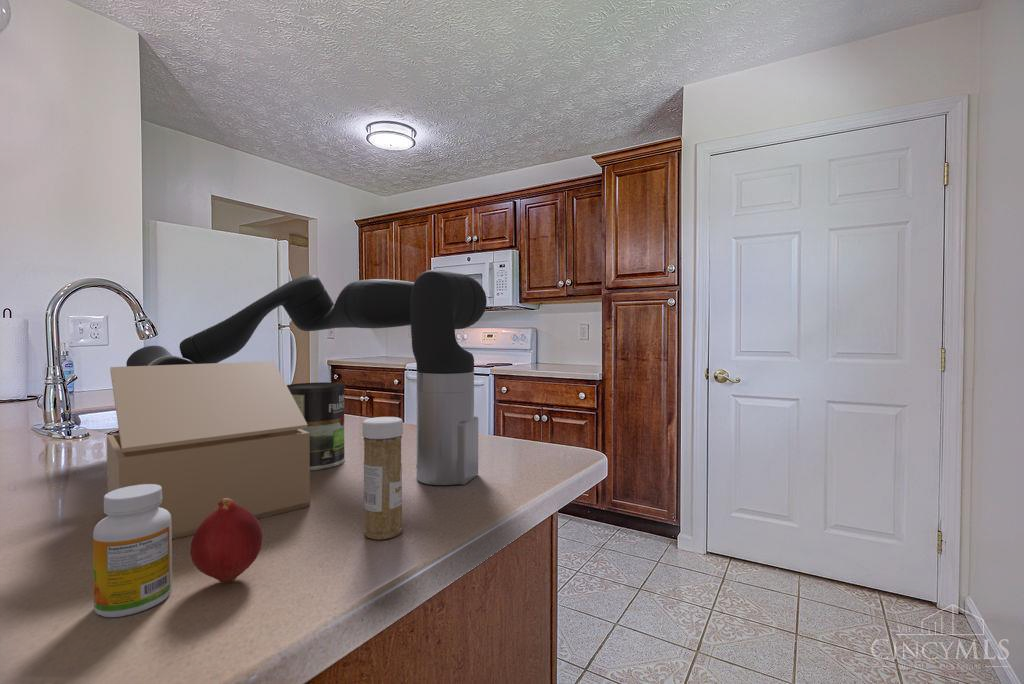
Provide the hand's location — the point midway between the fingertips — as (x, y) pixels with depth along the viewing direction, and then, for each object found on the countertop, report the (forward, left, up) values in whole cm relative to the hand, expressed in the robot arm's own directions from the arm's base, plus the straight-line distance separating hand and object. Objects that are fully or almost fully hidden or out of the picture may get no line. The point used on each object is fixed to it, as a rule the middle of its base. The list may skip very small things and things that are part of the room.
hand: (192, 385), depth 72 cm
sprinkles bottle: (-35, +6, -16) cm, 39 cm away
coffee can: (-7, -17, -16) cm, 25 cm away
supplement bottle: (-22, +25, -16) cm, 37 cm away
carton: (-9, +6, -16) cm, 19 cm away
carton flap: (-10, +6, -1) cm, 12 cm away
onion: (-27, +20, -16) cm, 37 cm away
